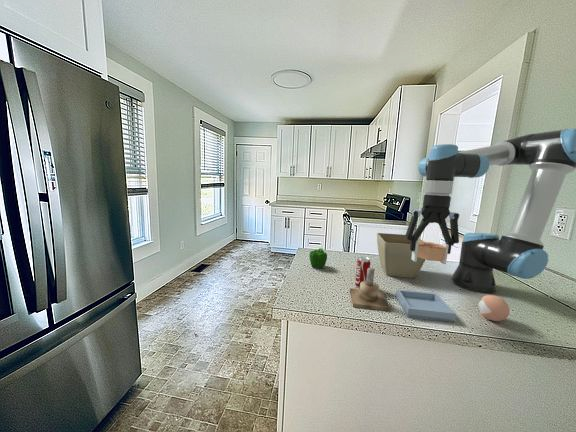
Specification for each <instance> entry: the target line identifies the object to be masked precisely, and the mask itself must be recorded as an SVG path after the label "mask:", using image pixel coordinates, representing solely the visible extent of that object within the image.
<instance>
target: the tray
mask: <svg viewBox="0 0 576 432" xmlns="http://www.w3.org/2000/svg"><path fill="white" fill-rule="evenodd" d="M395 298H396V300H397V301H398V304H399V305H400V307H401V309H402V310H403V312H404V314H405V315H406V318H413V319H421V320H430V321H440V322H449V323H455V320H456V313H455V311H454V310H453V309H452V308H451V307H450V306H449V305H448V304H447V303H446V302H445V301H444V300H443V299H442V297H440V295H438V293H436V292H427V291H418V290H409V289H400V288H399V289H398V288H396V290H395Z"/></svg>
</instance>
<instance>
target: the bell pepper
mask: <svg viewBox="0 0 576 432" xmlns="http://www.w3.org/2000/svg"><path fill="white" fill-rule="evenodd" d="M327 261H328V254H327V252H325V251H324V248H322V247H319V248H318V249H314V250H310V251H309V262H310V266H311V267H312V268H315V269H316V268H318V269H323V268H324V267H326V266H325V265H326V264H327Z"/></svg>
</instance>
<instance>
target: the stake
mask: <svg viewBox="0 0 576 432" xmlns="http://www.w3.org/2000/svg"><path fill="white" fill-rule="evenodd" d="M374 279H375V268H372V267H370V268H368V269H367V279H366V281H363V282H361V283H360V288H351V287H350V288H349V294H350V299H351V304H352V307H353V308H361V309H369V310H377V311H387V312H390V306H389V304H388V301H387V299H386V297H385V295H384V293H383V291H381V290H380V291H379V289H380V287H379V284H377V283H376V282H374Z"/></svg>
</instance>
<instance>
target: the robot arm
mask: <svg viewBox="0 0 576 432" xmlns="http://www.w3.org/2000/svg"><path fill="white" fill-rule="evenodd" d="M494 165H496V166H499V167H501V166H507V165H510V166H511V165H514V166H515V165H517V166H518V165H519V166H520V165H523V166H524V165H525V166H528V167H529V169H530V170H531V174H530V177H529V179H528V182H527V184H526V186H525V190H524V192H523V195H522V197H521V199H520V202H519V205H518V207H517V210H516V213H515V215H514V218H513V220H512V223H511V226H510V228H509V231H508V232H506V233H503V234H502V235H501V237H499V235H498V234H495V233H485V232H467V233H465V234H464V235H463V238H462V241H461V248H460V249H461V250H460V255H459V263H458V265H457V267H456V269H455V271H454V272H453V274H452V276H451V281H452V283H453V284H455V286H456V285H457V286H458V287H461V288H463V289H465V290H469V291H473V292H479V293H495V292H496V286H497V285H496V281H495V277H494V272H493V271H494V270H497V271H499V272H502V273H505V274H507V275H509V276H512V277H517V278H520V279H524V280H525V279H526V280H528V279H533V278H535V277H537V276H539V275H540V274H542V273H543V271H545V269H546V267H547V266H548V263H549V255H548V252H546V250H544V247H545V245H544V243H543V241H541V239H542V235H543V234H544V232H545V229H546V227H547V223H548V221H549V219H550V216H551V214H552V211H553V208H554V207H555V203H556V201H557V199H558V197H559V194H560V191H561V189H562V186H563V183H564V182H565V179H566V177H567V175H568V174H570V173H573V172H575V170H576V128H564V129H560V130H552V131H551V130H550V131H544V132H537V133H536V132H535V133H530V134H526V135H522V136H517V137H513V138H510V139H506V140H503V141H498V142H496V143H495V144H493V145H488V146H485V147H479V148H474V149H473V148H472V149H468V150H464V151H463V150H462V151H459V146H458V145H456V144H450V143H449V144H446V143H445V144H436V145H432V146H431V147H430V150H429V155H428V157H423V158H422V159H421V160H420V162H419V163H418V168H417V169H418V173H419V174H420V175H421V176H422V177H426V179H425V186H424V193H425V194H424V195H423V201H422V208H421V209H419V210H415V209H412V210H411V218H410V220H409V224H408V226H407V227H408V228H407V230H406V232H405V234H404V235H405V238H407V239H408V240H410V241H411V243H410V250H411V251H412V258H411V259H412V260H413V261H414V262H416V261H417V253H418V246H419V243H418V242H417V240H418V238H420V237H421V235H422V233H423V232H424V230H425V229H426V228H427V226H429V225H430V224H434V223H436V224H438V225H439V228H440V232H441V235H442V237H443V239H444V242H442V244H441V245H443V246H444V247H446V248H447V249H446V255H445V260H442V261H439V262H440V263H441V264H443V265H447V258H448V255H450V254H451V250H452V246H454V245H455V244H459V242H460V237H459V218H460V214H459V213H458V212H454V211H453V212H451V211H450V206H451V201H452V197H451V195H452V194H453V186H454V179H455V178H469V179H473V178H480V177H482V176H483V177H484V175H485V174H487V172H488V171H489V169H490V166H494ZM421 215H422V219H421V220H420V223H419V225H418V226H417V224H418V223H417V222H418V220H419V217H420V216H421ZM447 218H449V223H450V224H449V226H450V231H449V228H448V225H447V221H446V219H447ZM416 226H417V228H416ZM415 228H416V229H415Z"/></svg>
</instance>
